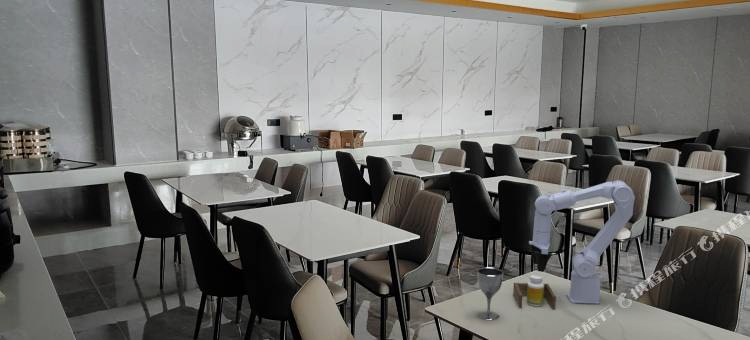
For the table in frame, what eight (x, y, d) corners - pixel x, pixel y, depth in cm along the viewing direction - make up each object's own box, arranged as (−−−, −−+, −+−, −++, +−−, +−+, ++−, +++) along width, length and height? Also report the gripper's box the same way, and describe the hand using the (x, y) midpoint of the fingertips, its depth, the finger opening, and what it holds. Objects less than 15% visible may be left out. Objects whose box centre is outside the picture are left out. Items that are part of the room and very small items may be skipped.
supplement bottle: (543, 307, 196) (544, 280, 194) (526, 305, 197) (528, 278, 196) (542, 301, 201) (544, 274, 199) (526, 299, 202) (528, 273, 201)
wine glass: (505, 315, 189) (507, 271, 187) (492, 322, 184) (494, 277, 181) (484, 308, 195) (486, 265, 192) (471, 315, 189) (472, 271, 186)
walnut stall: (547, 295, 206) (548, 283, 205) (555, 309, 194) (555, 296, 194) (513, 294, 207) (513, 282, 206) (518, 308, 195) (519, 295, 194)
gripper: (526, 224, 210) (523, 260, 212) (534, 235, 196) (531, 273, 198) (546, 225, 209) (543, 261, 212) (555, 236, 195) (552, 275, 197)
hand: (538, 267), depth 205 cm, fingers open, 7 cm apart
